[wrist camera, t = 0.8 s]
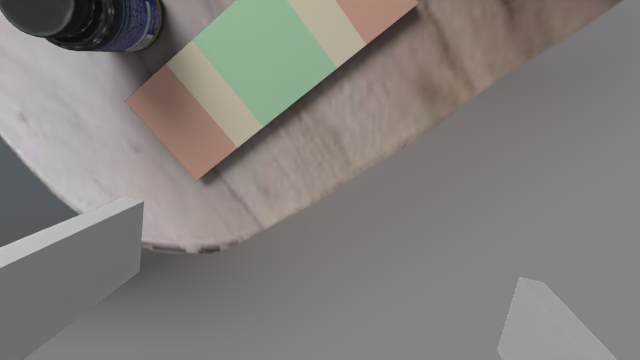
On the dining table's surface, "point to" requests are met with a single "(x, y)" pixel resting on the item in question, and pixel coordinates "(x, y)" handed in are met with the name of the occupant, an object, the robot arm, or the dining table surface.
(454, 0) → the dining table surface
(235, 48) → the gauge plate
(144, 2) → the pill bottle
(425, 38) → the dining table surface
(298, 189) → the dining table surface
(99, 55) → the dining table surface
